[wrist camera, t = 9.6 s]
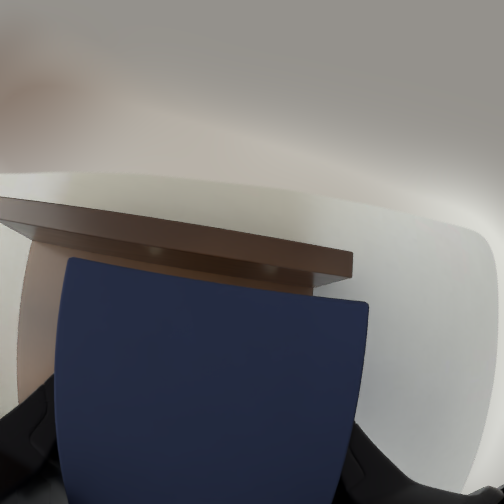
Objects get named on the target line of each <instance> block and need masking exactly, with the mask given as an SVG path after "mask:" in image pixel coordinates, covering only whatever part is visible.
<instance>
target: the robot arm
mask: <svg viewBox="0 0 504 504" xmlns="http://www.w3.org/2000/svg"><path fill="white" fill-rule="evenodd" d="M0 504H69V503H68V499H67V495H66V491H65V486H64V481H63V476H62V471H61V465H60V459H59V452H58V444H57V435H56V423H55V406H54V373H53V374H52V375H51V376H50V377H49V378H48V379H47V380H46V381H45V382H44V384H41V385H40V386H39V387H38V388H37V389H36V390H35V391H34V392H33V393H32V394H31V395H30V396H28V397H27V398H26V399H25V400H24V401H23V402H22V403H20V404H19V405H18V406H17V407H15V408H14V409H13V410H12V411H10V412H9V413H8V414H6V415H5V416H4V417H3V418H1V419H0ZM332 504H504V485H502V486H500V487H499V488H494V487H491V486H487V487H483V488H481V489H479V490H477V491H475V492H473V493H471V494H469V495H463V494H458V493H453V492H449V491H444V490H440V489H436V488H432V487H429V486H425V485H422V484H419V483H417V482H415V481H413V480H411V479H410V478H408V477H407V476H406V475H405V474H404V473H403V472H402V471H401V470H400V469H398V468H397V467H396V466H395V465H394V464H393V463H392V462H391V461H390V460H389V459H388V458H387V457H386V456H385V455H384V454H383V453H382V452H381V451H380V450H379V449H378V448H377V447H376V446H375V445H374V444H373V442H372V441H371V440H370V439H369V438H368V436H367V435H366V434H365V433H364V432H363V430H362V429H361V428H360V427H359V425H358V424H357V423H356V424H355V420H354V423H353V427H352V432H351V436H350V441H349V445H348V449H347V453H346V457H345V461H344V464H343V468H342V472H341V475H340V479H339V482H338V485H337V488H336V492H335V495H334V498H333V501H332Z"/></svg>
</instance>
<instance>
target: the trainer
mask: <svg viewBox="0 0 504 504" xmlns="http://www.w3.org/2000/svg"><path fill="white" fill-rule="evenodd" d="M368 315H369V305H368V303H366V302H362V301H353V300H344V299H335V298H326V297H317V296H309V295H301V294H293V293H285V292H278V291H270V290H263V289H256V288H249V287H242V286H235V285H228V284H222V283H215V282H209V281H203V280H196V279H190V278H184V277H178V276H172V275H166V274H161V273H155V272H149V271H144V270H138V269H133V268H128V267H122V266H117V265H112V264H107V263H102V262H97V261H92V260H87V259H82V258H77V257H71V258H69V259H68V261H67V266H66V270H65V276H64V281H63V287H62V293H61V299H60V306H59V314H58V322H57V332H56V344H55V362H54V406H55V423H56V435H57V444H58V452H59V459H60V465H61V471H62V476H63V481H64V486H65V491H66V495H67V499H68V503H69V504H332V501H333V498H334V495H335V492H336V488H337V485H338V482H339V479H340V475H341V472H342V468H343V464H344V461H345V457H346V453H347V449H348V445H349V441H350V436H351V432H352V427H353V423H354V418H355V413H356V408H357V402H358V397H359V391H360V384H361V378H362V371H363V364H364V356H365V347H366V338H367V327H368Z"/></svg>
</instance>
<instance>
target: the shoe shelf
mask: <svg viewBox="0 0 504 504" xmlns="http://www.w3.org/2000/svg"><path fill="white" fill-rule="evenodd" d="M0 223H2V224H4V225H6V226H7V227H9V228H11V229H13V230H14V231H16V232H18V233H20V234H22V235H24V236H25V237H27V238H29V239H31V240H32V243H31V248H30V252H29V256H28V261H27V266H26V271H25V277H24V283H23V289H22V296H21V304H20V313H19V324H18V340H17V387H18V402H19V404H20V403H22V402H23V401H24V400H25V399H26V398H27V397H28V396H30V395H31V394H32V393H33V392H34V391H35V390H36V389H37V388H38V387H39V386H40V385H41V384H44V382H45V381H46V380H47V379H48V378H49V377H50V376H51V375H52V374H53V373H54V362H55V344H56V332H57V322H58V314H59V306H60V299H61V293H62V287H63V281H64V276H65V270H66V266H67V261H68V259H69V258H71V257H77V258H82V259H87V260H92V261H97V262H102V263H107V264H112V265H117V266H122V267H128V268H133V269H138V270H144V271H149V272H155V273H161V274H166V275H172V276H178V277H184V278H190V279H196V280H203V281H209V282H215V283H222V284H228V285H235V286H242V287H249V288H256V289H263V290H270V291H278V292H285V293H293V294H301V295H309V296H313V288H314V287H318V286H322V285H326V284H330V283H334V282H337V281H341V280H345V279H349V278H352V268H353V252H349V251H344V250H339V249H334V248H328V247H323V246H317V245H312V244H306V243H301V242H295V241H290V240H284V239H279V238H273V237H267V236H262V235H256V234H250V233H244V232H238V231H232V230H226V229H221V228H214V227H208V226H202V225H196V224H190V223H184V222H178V221H171V220H165V219H158V218H152V217H145V216H139V215H132V214H126V213H119V212H112V211H105V210H98V209H91V208H84V207H77V206H70V205H62V204H55V203H47V202H40V201H32V200H24V199H16V198H8V197H0Z"/></svg>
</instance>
